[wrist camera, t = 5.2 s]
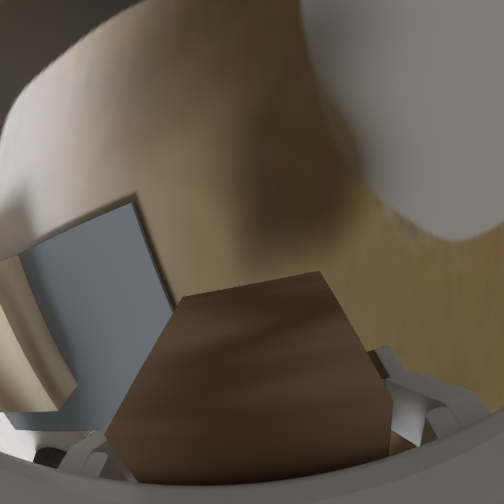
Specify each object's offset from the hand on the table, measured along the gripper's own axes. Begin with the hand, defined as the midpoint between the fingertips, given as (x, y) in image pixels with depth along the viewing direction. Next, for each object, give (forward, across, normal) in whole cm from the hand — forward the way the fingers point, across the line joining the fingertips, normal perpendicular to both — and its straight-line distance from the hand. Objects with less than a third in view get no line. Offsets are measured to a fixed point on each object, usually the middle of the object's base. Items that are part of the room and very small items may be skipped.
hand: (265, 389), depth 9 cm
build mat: (+6, +14, +1) cm, 16 cm away
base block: (+6, +18, -1) cm, 19 cm away
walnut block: (+3, 0, 0) cm, 3 cm away
